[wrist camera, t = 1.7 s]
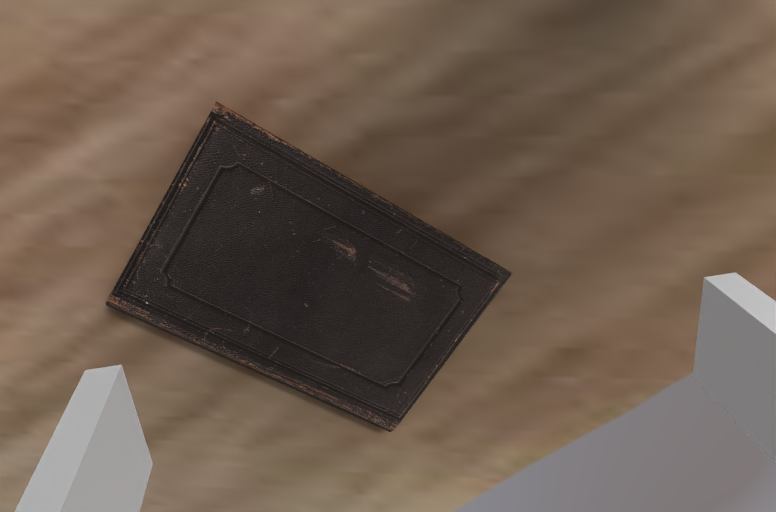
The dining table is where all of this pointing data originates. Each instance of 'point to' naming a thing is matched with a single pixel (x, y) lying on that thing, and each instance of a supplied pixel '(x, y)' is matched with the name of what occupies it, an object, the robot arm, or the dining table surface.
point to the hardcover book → (303, 274)
